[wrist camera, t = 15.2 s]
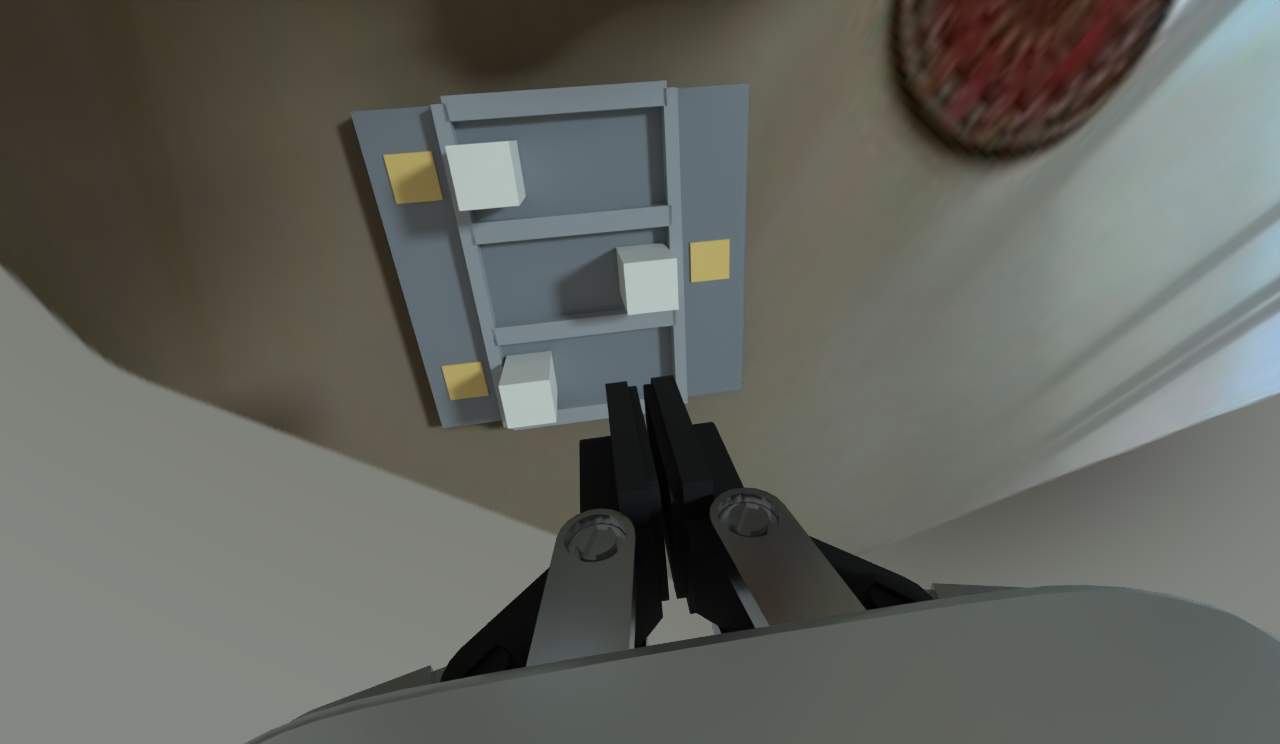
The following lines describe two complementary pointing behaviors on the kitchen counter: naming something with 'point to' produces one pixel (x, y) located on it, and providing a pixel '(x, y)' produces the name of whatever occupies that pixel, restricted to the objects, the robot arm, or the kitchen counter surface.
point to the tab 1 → (486, 175)
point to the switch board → (568, 239)
